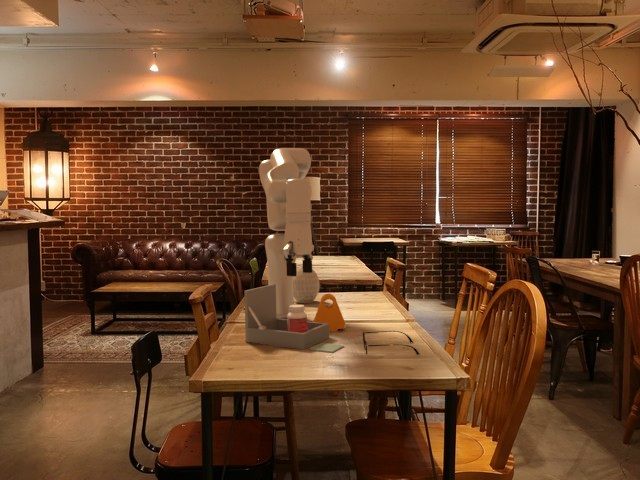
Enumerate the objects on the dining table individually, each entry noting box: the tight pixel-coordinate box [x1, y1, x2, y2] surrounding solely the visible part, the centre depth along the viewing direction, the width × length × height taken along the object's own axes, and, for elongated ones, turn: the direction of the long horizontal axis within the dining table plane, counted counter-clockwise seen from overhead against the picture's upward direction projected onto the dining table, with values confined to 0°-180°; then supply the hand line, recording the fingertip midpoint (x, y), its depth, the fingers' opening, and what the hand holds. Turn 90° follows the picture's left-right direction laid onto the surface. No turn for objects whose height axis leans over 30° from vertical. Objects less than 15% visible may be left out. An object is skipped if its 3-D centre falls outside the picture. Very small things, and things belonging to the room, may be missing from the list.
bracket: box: [312, 293, 346, 332], centre depth 183 cm, size 11×7×12 cm, turn 90°
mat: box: [309, 342, 345, 354], centre depth 158 cm, size 8×8×1 cm
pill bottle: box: [286, 304, 308, 333], centre depth 167 cm, size 6×6×11 cm
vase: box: [293, 263, 320, 304], centre depth 236 cm, size 13×13×17 cm
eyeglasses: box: [362, 330, 420, 355], centre depth 157 cm, size 16×16×4 cm
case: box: [243, 284, 330, 350], centre depth 168 cm, size 21×16×16 cm
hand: (299, 274), depth 166 cm, fingers open, 9 cm apart
